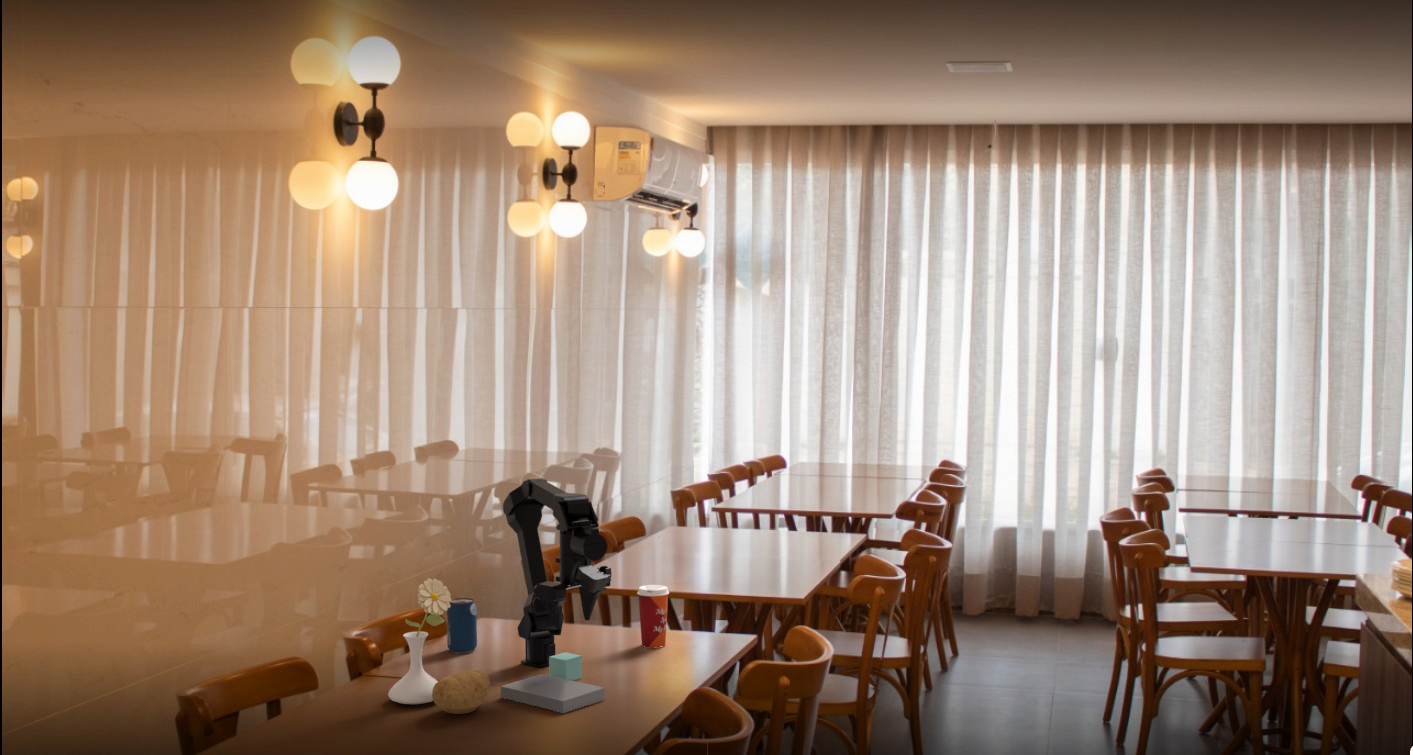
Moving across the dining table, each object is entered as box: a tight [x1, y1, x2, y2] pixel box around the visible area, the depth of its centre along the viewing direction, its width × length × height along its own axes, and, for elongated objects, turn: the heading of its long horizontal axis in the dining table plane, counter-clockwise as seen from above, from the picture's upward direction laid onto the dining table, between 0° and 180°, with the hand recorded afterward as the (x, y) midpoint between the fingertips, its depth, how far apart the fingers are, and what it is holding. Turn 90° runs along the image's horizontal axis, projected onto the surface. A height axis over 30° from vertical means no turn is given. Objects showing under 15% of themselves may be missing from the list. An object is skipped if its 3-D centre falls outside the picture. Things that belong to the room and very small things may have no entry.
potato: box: [432, 668, 491, 715], centre depth 263 cm, size 10×14×8 cm
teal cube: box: [548, 651, 583, 681], centre depth 287 cm, size 5×5×5 cm
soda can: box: [446, 597, 478, 655], centre depth 312 cm, size 7×7×12 cm
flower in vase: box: [387, 578, 452, 705], centre depth 270 cm, size 13×11×25 cm
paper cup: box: [636, 584, 670, 648], centre depth 316 cm, size 8×8×14 cm
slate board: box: [500, 673, 606, 714], centre depth 271 cm, size 18×12×2 cm, turn 52°
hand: (572, 624), depth 286 cm, fingers open, 9 cm apart
